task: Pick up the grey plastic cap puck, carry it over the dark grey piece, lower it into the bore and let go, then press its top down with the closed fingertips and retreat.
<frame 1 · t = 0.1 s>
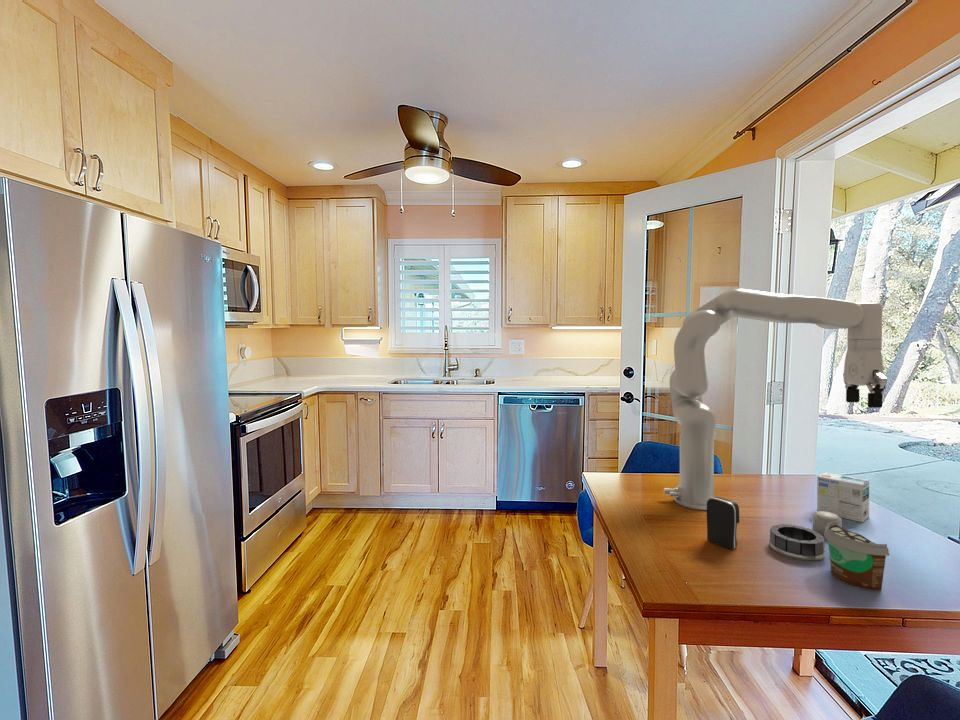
hand: (863, 404, 129), 31 cm above the table, fingers open, 9 cm apart
dark grey piece: (796, 549, 108), on the table
food container: (846, 579, 95), on the table
cap: (826, 533, 117), on the table
battery charger: (723, 544, 112), on the table
light bulb box: (842, 515, 128), on the table
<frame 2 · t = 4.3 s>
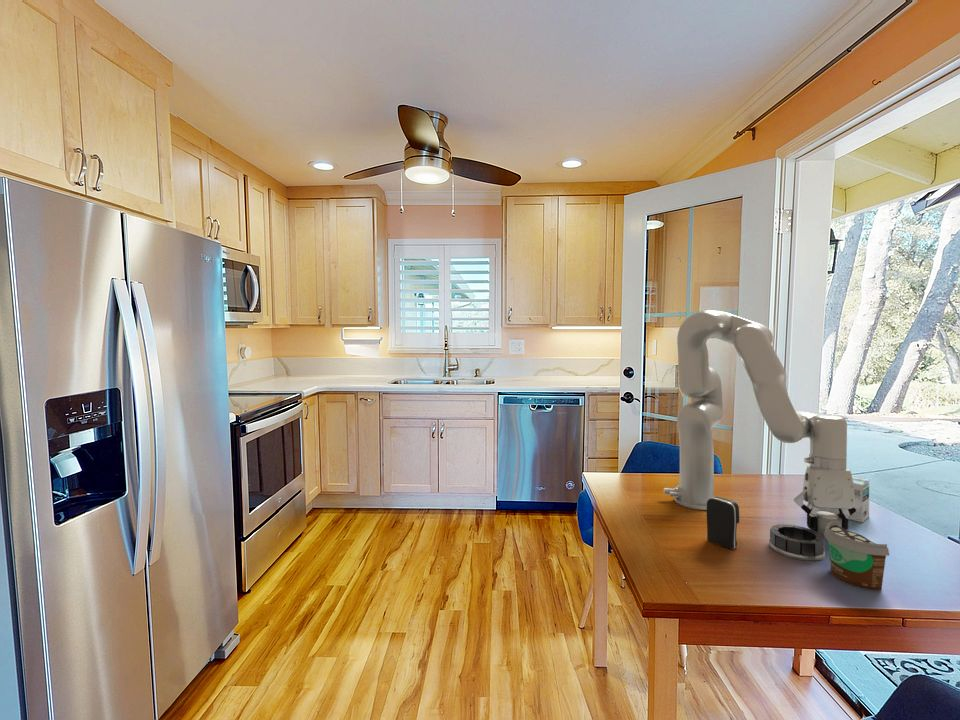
hand: (827, 530, 116), 1 cm above the table, fingers closed on cap, 5 cm apart
cap: (826, 533, 116), on the table, touching gripper
everything else where it was.
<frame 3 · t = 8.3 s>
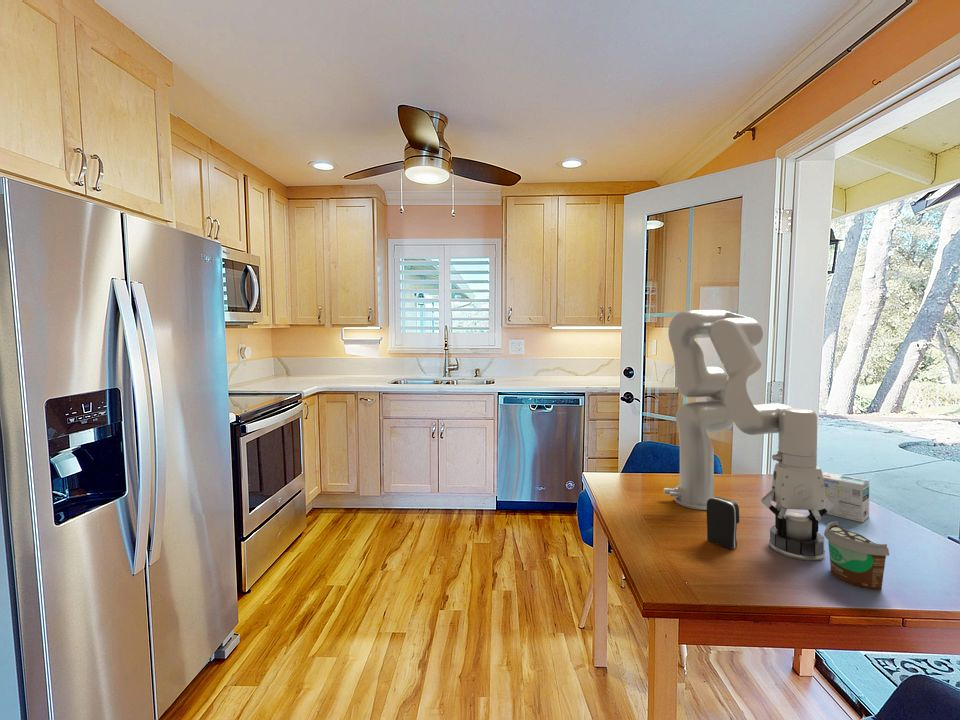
hand: (796, 532, 108), 4 cm above the table, fingers closed on cap, 5 cm apart
cap: (796, 536, 108), point 3 cm above the table, touching gripper
everything else where it was.
when the fingers open (4 cm above the table, at t = 8.7 s): cap drops 2 cm, resting on dark grey piece.
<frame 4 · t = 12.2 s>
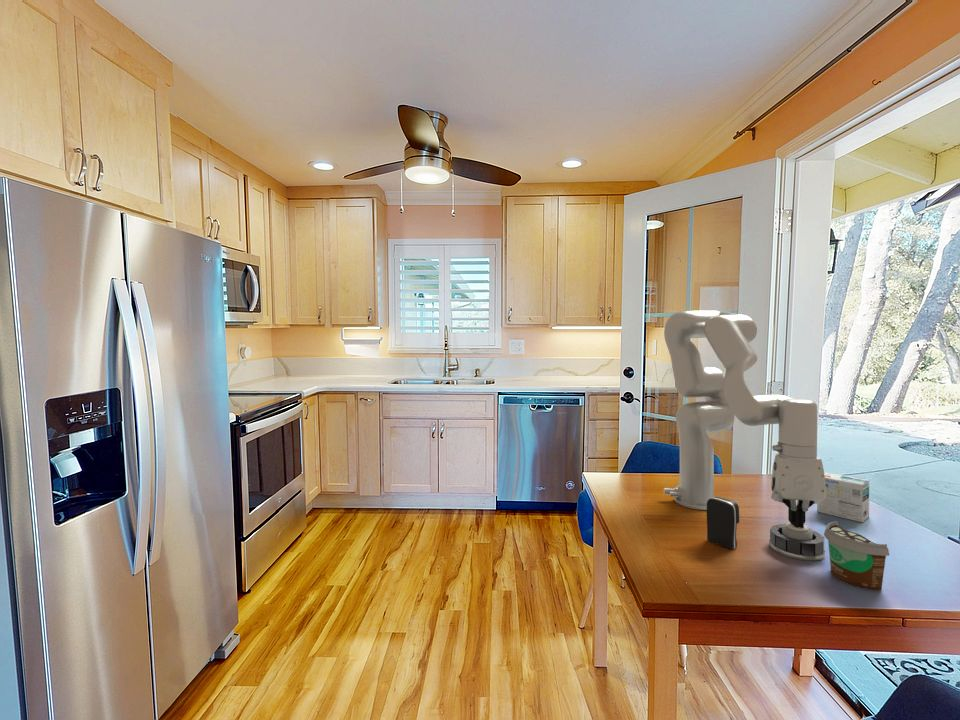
hand: (796, 525, 108), 6 cm above the table, fingers closed
cap: (796, 545, 108), point 1 cm above the table, touching dark grey piece, gripper
everything else where it was.
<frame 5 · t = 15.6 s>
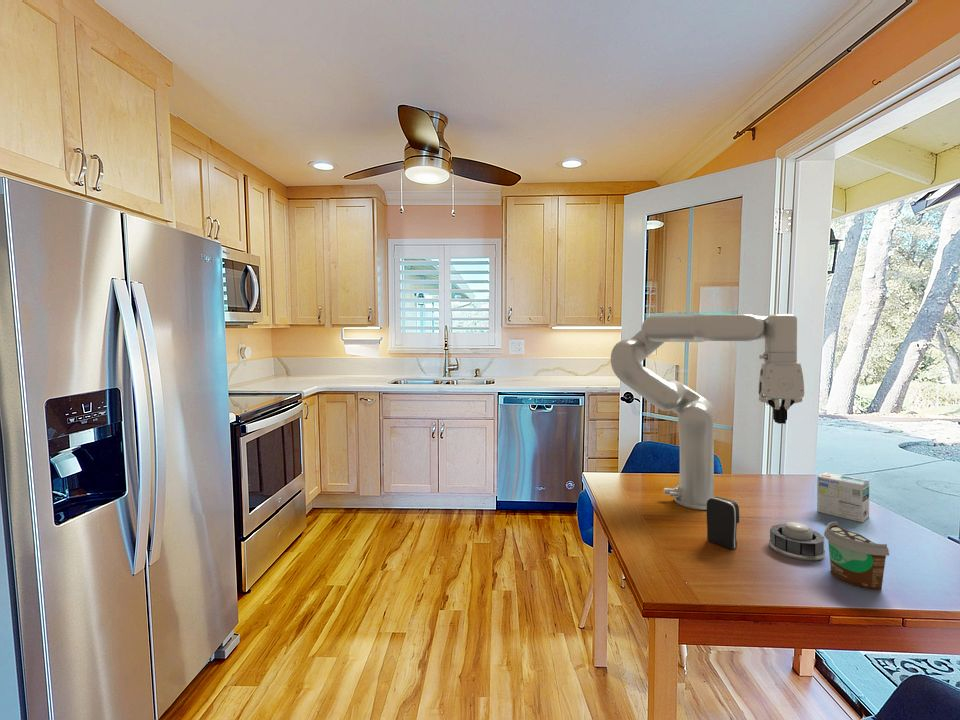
hand: (780, 422, 126), 27 cm above the table, fingers closed
cap: (796, 545, 108), point 1 cm above the table, touching dark grey piece
everything else where it was.
at the end: cap 0.1 cm from the dark grey piece (horizontally); cap point 1.0 cm above the table; cap tilted 0° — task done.
